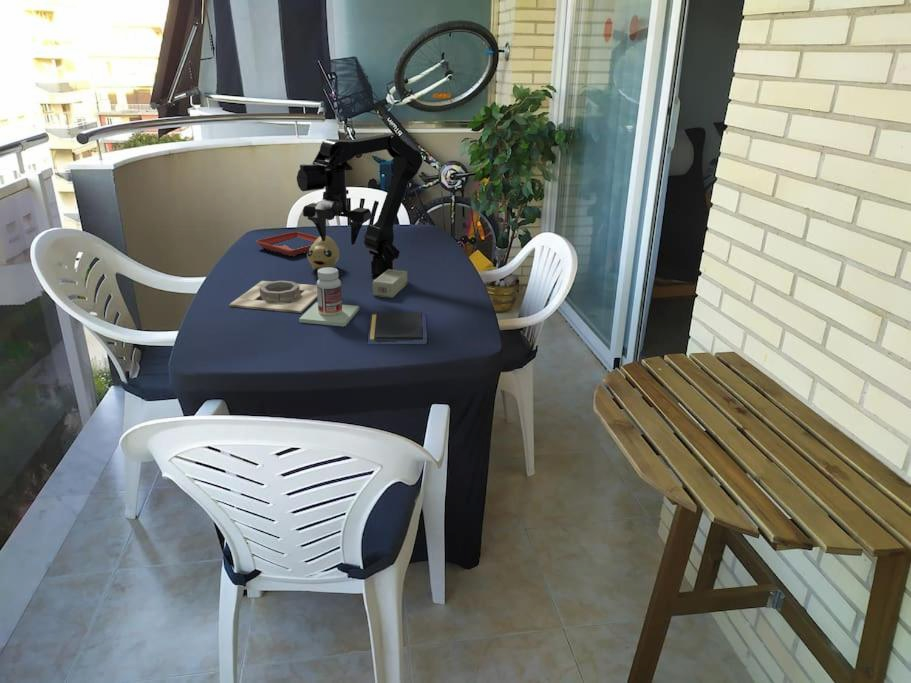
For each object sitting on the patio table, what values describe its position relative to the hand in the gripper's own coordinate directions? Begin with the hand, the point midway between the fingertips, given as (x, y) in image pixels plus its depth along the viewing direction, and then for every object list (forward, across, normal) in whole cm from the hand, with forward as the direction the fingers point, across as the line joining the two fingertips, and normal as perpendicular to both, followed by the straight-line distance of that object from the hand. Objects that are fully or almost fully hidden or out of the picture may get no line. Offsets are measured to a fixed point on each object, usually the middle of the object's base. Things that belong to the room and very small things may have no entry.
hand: (338, 242), depth 184 cm
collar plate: (+13, -11, -15) cm, 22 cm away
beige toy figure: (+13, -12, +12) cm, 21 cm away
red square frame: (+14, -32, +29) cm, 45 cm away
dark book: (+14, +28, -23) cm, 39 cm away
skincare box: (+11, +15, -4) cm, 19 cm away
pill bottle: (+12, +8, -22) cm, 26 cm away
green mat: (+13, +8, -22) cm, 27 cm away
